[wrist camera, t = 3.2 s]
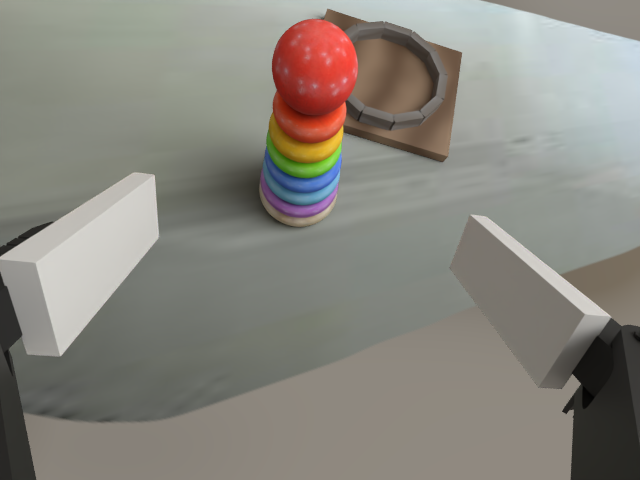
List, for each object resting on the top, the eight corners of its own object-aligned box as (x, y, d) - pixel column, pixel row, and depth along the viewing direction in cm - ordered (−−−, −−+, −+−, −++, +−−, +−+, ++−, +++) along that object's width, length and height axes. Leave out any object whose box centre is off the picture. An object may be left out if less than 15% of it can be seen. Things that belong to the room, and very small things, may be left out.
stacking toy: (342, 171, 37) (409, 8, 19) (326, 238, 34) (387, 121, 16) (271, 151, 36) (274, -35, 19) (250, 217, 34) (229, 74, 16)
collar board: (293, 116, 38) (294, 99, 35) (325, 17, 43) (329, -3, 41) (442, 162, 39) (454, 149, 36) (457, 60, 44) (468, 42, 42)
